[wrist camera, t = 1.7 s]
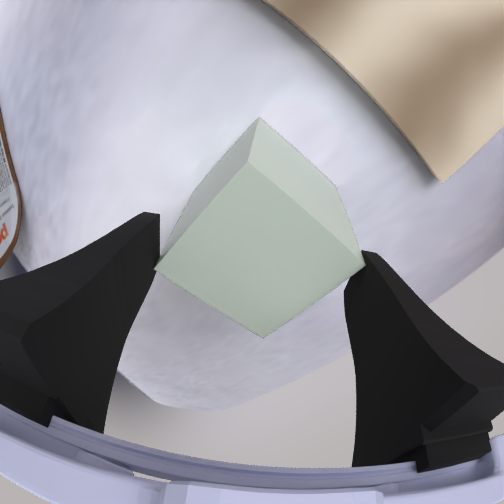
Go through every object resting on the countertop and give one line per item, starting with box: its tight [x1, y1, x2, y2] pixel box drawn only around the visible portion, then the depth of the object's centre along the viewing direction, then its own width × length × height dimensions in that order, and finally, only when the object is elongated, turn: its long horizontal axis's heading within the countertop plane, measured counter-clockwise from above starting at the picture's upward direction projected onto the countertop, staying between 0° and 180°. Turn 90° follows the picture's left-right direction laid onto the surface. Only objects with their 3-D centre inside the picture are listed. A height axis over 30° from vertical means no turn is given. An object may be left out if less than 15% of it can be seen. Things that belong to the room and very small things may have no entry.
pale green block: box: [154, 117, 366, 338], centre depth 13 cm, size 5×5×7 cm
